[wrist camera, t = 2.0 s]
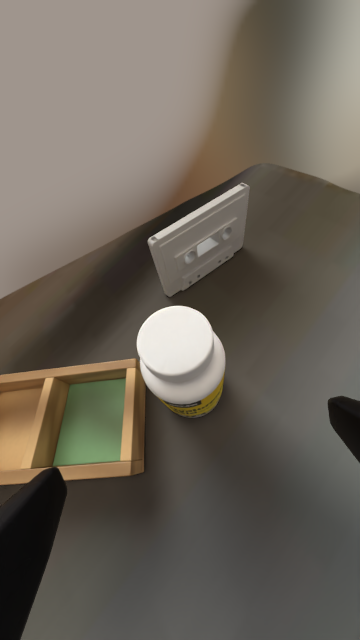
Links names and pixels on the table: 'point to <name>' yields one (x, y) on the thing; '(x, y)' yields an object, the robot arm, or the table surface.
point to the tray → (73, 422)
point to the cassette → (200, 240)
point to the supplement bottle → (182, 360)
